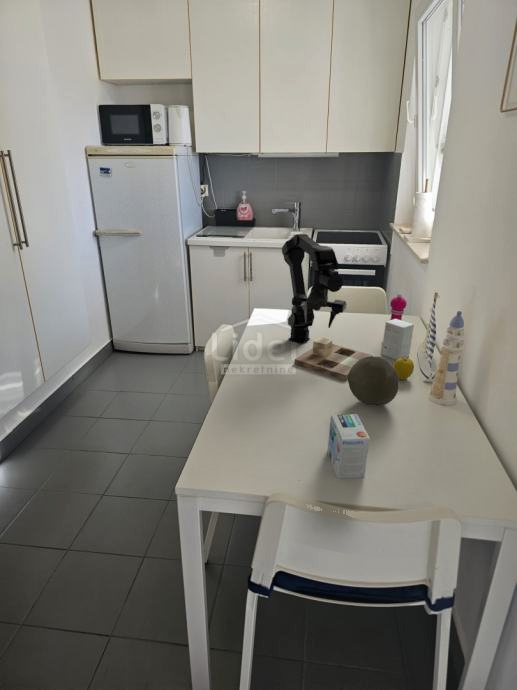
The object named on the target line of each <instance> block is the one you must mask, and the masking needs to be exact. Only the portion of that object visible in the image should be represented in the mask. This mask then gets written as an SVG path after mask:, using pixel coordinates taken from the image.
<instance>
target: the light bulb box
mask: <svg viewBox="0 0 517 690" xmlns="http://www.w3.org/2000/svg"><path fill="white" fill-rule="evenodd" d="M328 431H329V433H328V440H327V441H328V443H327V451H326V452H327V455H328V457H329V459H330V463H331V465H332V468H333V471H334V474H335V477H336V478H337V479H348V478H349V479H350V478H351V479H355V478H358V479H359V478H360V479H361V478H365V474H366V465H367V459H368V453H369V447H370V440H371V438H370V436H369V434H368V432H367V430H366V428H365V427H364V425H363V423H362V420H361V419H360V417H359V415H358V414H356V413H353V414H331V415H330V423H329V430H328Z"/></svg>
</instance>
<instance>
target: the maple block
mask: <svg viewBox="0 0 517 690" xmlns="http://www.w3.org/2000/svg"><path fill="white" fill-rule="evenodd" d="M312 342H313V343H312V348H313V353H312V354H315V355H318V356H321V357H326V356H328V355H329V354H331V351H332V344H333V340H332V339H330V338H326V337H321V336H319V337H317V338H316V339H315V340H313V341H312Z"/></svg>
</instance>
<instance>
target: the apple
mask: <svg viewBox="0 0 517 690" xmlns="http://www.w3.org/2000/svg"><path fill="white" fill-rule="evenodd" d="M392 366H393V368H394V369H395V371H396V372H397V374H398V378H399V380H407V379H409V377H411V376H412V374H413V372H414V369H415V365H414V361H413V360H411V358H409V357H407V358H399V359H398V360H396V361H395V362H394V363H393V365H392Z"/></svg>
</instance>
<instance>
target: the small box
mask: <svg viewBox="0 0 517 690" xmlns="http://www.w3.org/2000/svg"><path fill="white" fill-rule="evenodd" d="M414 325H415V324H414V323H411V322H408V321H404V320H402V321H401V320H398V319H393V320H390V319H389V320H387V321H385V325H384V333H383V338H382V339H383V340H382V346H381V355H383V356H385V357H388V358H391V359H393V360H396V361H397V360H398V359H399V358H409V357H410V351H411V346H412V338H413V333H414V327H415V326H414Z"/></svg>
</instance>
